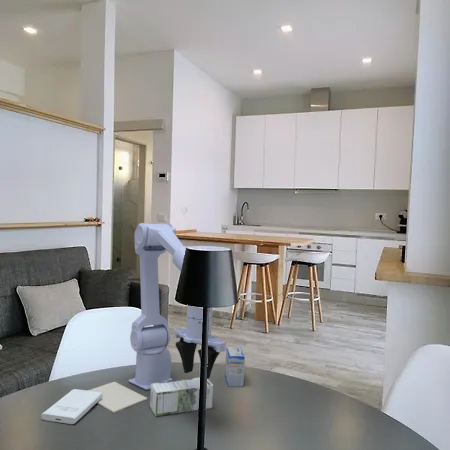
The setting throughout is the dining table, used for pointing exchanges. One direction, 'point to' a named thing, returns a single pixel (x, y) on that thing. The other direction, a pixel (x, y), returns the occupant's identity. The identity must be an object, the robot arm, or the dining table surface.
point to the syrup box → (178, 396)
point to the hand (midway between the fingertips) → (196, 375)
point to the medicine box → (234, 367)
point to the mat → (117, 397)
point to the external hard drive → (72, 406)
